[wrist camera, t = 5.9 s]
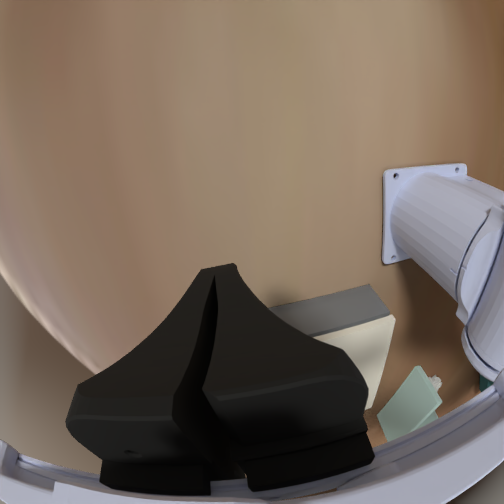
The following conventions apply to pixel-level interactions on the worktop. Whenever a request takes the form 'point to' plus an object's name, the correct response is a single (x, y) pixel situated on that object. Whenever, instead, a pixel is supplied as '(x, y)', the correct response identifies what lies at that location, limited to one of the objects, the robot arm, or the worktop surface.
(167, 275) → the worktop surface
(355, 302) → the storage box
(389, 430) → the l-shaped corner panel
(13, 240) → the worktop surface
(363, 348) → the lid
